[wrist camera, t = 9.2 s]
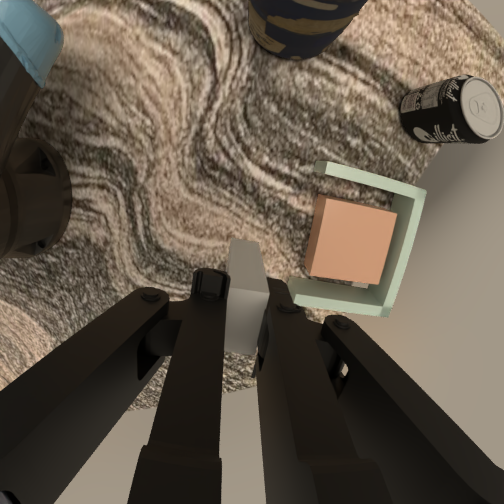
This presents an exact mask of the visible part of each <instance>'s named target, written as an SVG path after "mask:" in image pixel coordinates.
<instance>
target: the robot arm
mask: <svg viewBox="0 0 504 504" xmlns="http://www.w3.org/2000/svg"><path fill="white" fill-rule="evenodd" d="M63 44H64V34H63V31H62V29H61V27H60V25H59V24H58V23H57V22H56V20H55V19H54V18H53V17H51V16H50V15H49V14H48V13H47V12H46V11H45V10H44V9H43V8H41V7H40V6H39V5H38V4H36V3H35V2H34V1H33V0H0V259H1V258H30V257H34V256H37V255H39V254H41V253H43V252H44V251H46V250H48V249H50V248H51V247H52V246H54V245H55V244H56V243H57V242H58V240H59V239H60V238H61V236H62V235H63V233H64V231H65V229H66V227H67V224H68V221H69V217H70V212H71V204H72V192H71V183H70V178H69V174H68V171H67V168H66V166H65V164H64V162H63V160H62V158H61V156H60V155H59V154H58V152H57V151H56V150H55V149H54V148H53V147H52V146H51V145H50V144H48V143H47V142H45V141H43V140H40V139H37V138H18V139H16V138H17V136H18V133H19V131H20V129H21V127H22V124H23V122H24V120H25V118H26V116H27V114H28V112H29V110H30V108H31V106H32V104H33V102H34V100H35V98H36V96H37V94H38V92H39V90H40V88H43V87H44V86H45V79H46V77H47V75H48V73H49V72H50V70H51V68H52V66H53V64H54V62H55V61H56V59H57V57H58V55H59V54H60V52H61V50H62V47H63ZM169 299H170V298H169V295H168V294H167V293H166V292H165V291H163V290H160V289H157V288H154V287H145V288H139V289H137V290H134V291H133V292H132V293H130V294H129V295H127V296H126V297H125V298H123V299H122V300H120V301H119V302H118V303H116V304H115V305H114V306H112V307H111V308H109V309H108V310H107V311H105V312H104V313H102V314H101V315H100V316H98V317H97V318H96V319H94V320H93V321H92V322H90V323H89V324H87V325H86V326H85V327H83V328H82V329H81V330H79V331H78V332H77V333H75V334H74V335H73V336H71V337H70V338H69V339H67V340H66V341H65V342H63V343H62V344H61V345H59V346H58V347H57V348H55V349H54V350H53V351H51V352H50V353H49V354H48V355H46V356H45V357H44V358H42V359H41V360H40V361H38V362H37V363H36V364H35V365H33V366H32V367H31V368H29V369H28V370H27V371H26V372H24V373H23V374H22V375H20V376H19V377H18V378H17V379H15V380H14V381H13V382H12V383H10V384H9V385H8V386H6V387H5V388H4V389H3V390H1V391H0V504H54V502H55V501H56V500H57V499H58V497H59V496H60V495H61V493H62V492H63V491H64V490H65V488H66V487H67V486H68V484H69V483H70V482H71V481H72V479H73V478H74V477H75V475H76V474H77V473H78V472H79V470H80V469H81V468H82V466H83V465H84V464H85V463H86V461H87V460H88V459H89V457H90V456H91V455H92V454H93V452H94V451H95V450H96V448H97V447H98V446H99V445H100V443H101V442H102V441H103V439H104V438H105V437H106V436H107V434H108V433H109V432H110V431H111V429H112V428H113V427H114V425H115V424H116V423H117V422H118V420H119V419H120V418H121V416H122V415H123V414H124V413H125V411H126V410H127V409H128V407H129V406H130V405H131V404H132V402H133V401H134V400H135V398H136V397H137V396H138V395H139V393H140V392H141V391H142V389H143V388H144V387H145V386H146V384H147V383H148V382H149V380H150V379H151V378H152V377H153V375H154V374H155V373H156V372H157V370H158V369H159V368H160V366H161V365H162V364H163V363H164V360H165V356H172V357H171V360H170V364H169V367H168V371H167V374H166V378H165V382H164V385H163V389H162V392H161V396H160V400H159V403H158V407H157V411H156V415H155V418H154V422H153V426H152V430H151V434H150V438H149V441H148V444H147V446H146V445H143V447H142V449H141V452H140V455H139V458H138V462H137V466H136V470H135V474H134V477H133V482H132V486H131V490H130V494H129V498H128V503H127V504H221V483H222V461H221V458H219V441H220V419H221V398H222V378H223V360H224V351H226V352H232V353H240V354H247V355H255V353H256V348H257V346H258V354H257V358H256V362H255V366H254V370H253V374H252V377H251V378H254V377H255V375H256V379H257V392H258V405H259V418H260V430H261V443H262V456H263V467H264V481H265V493H266V504H504V470H503V469H501V468H499V467H498V466H496V465H495V464H494V463H493V462H492V461H491V460H490V459H489V458H488V457H487V456H486V455H485V454H484V453H483V451H482V450H481V449H480V448H479V447H478V446H477V445H476V444H475V443H474V442H473V441H472V440H471V439H470V438H469V437H468V436H467V435H466V434H465V433H464V431H463V430H462V429H461V428H460V427H459V426H458V425H457V424H456V423H455V422H454V421H453V420H452V419H451V418H450V417H449V416H448V415H447V414H446V413H445V412H444V411H443V410H442V409H441V408H440V407H439V406H438V405H437V404H436V403H435V402H434V401H433V400H432V399H431V398H430V397H429V396H428V395H427V394H426V392H424V391H423V390H422V388H421V387H419V385H418V384H417V383H416V382H415V381H414V380H413V379H412V378H410V376H409V375H408V374H407V373H406V372H405V371H403V369H402V368H401V367H400V366H399V365H398V364H397V363H396V362H395V361H394V360H393V359H392V358H391V357H390V356H388V354H387V353H386V352H385V351H384V350H383V349H381V347H379V345H378V344H377V343H376V342H374V341H373V340H372V339H371V338H370V337H369V336H368V335H367V334H366V333H365V332H364V331H363V330H362V329H361V328H360V327H359V326H358V325H357V324H356V323H355V322H354V321H352V320H351V319H348V318H347V317H345V316H342V315H328V316H327V317H325V320H324V323H323V324H321V323H317V322H314V321H311V320H308V319H307V317H306V314H305V312H304V310H303V309H302V307H300V306H299V305H297V304H295V303H293V300H292V297H291V295H290V292H289V289H288V286H287V284H286V283H284V282H283V281H282V280H279V279H273V278H267V277H266V274H265V269H264V265H263V260H262V255H261V251H260V246H259V242H254V241H248V240H243V239H237V238H231V243H230V249H229V255H228V260H227V266H226V272H225V271H221V270H217V269H211V268H201V269H197V270H195V271H194V273H193V280H192V288H191V295H190V298H189V299H187V300H184V301H169ZM344 364H346V365H347V367H348V372H347V374H346V376H344V375H343V374H342V372H341V371H342V369H343V367H344Z"/></svg>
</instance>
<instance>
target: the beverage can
mask: <svg viewBox="0 0 504 504" xmlns="http://www.w3.org/2000/svg"><path fill="white" fill-rule="evenodd" d="M400 112H401V119H402V122H403V125H404V127H405V129H406V130H407V132H408V133H409V134H410V135H411V136H412V137H413V138H414V139H416V140H417V141H419V142H422V143H474V144H476V143H477V144H480V143H484V142H487V141H488V140H490V139H493V138H495V137H497V135H499V134H500V132H501V130H502V127H503V124H504V109H503V105H502V101H501V99H500V96H499V94H498V92H497V91H496V89H495V88H494V87H493V86H492V84H491V83H489V82H488V81H487V80H485V79H484V78H481V77H474V76H471V75H460V76H457V77H453V78H450V79H446V80H443V81H440V82H436V83H433V84H430V85H427V86H424V87H421V88H418V89H415V90H412V91H410V92H408V93H407V94H406V95H405V97H404V98H403V100H402V103H401V109H400Z"/></svg>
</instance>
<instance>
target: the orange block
mask: <svg viewBox="0 0 504 504" xmlns="http://www.w3.org/2000/svg"><path fill="white" fill-rule="evenodd" d="M396 217H397V213H394V212H392V211H390V210H387V209H385V208H382V207H377V206H373V205H369V204H364V203H360V202H355V201H350V200H346V199H341V198H336V197H331V196H326V195H321V194H318V198H317V203H316V208H315V213H314V218H313V222H312V227H311V232H310V237H309V241H308V246H307V251H306V255H305V260H304V265H305V267H306V269H307V271H308V273H309V274H310V275H311V276H318V277H325V278H333V279H340V280H347V281H354V282H362V283H369V284H377V285H378V284H379V281H380V277H381V274H382V271H383V267H384V264H385V260H386V256H387V253H388V249H389V245H390V241H391V237H392V233H393V229H394V225H395V221H396Z"/></svg>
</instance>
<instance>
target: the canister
mask: <svg viewBox="0 0 504 504" xmlns="http://www.w3.org/2000/svg"><path fill="white" fill-rule="evenodd" d="M367 1H368V0H249V2H248V9H249V13H248V21H249V28H250V31H251V33H252V35H253V37H254V38H255V40H256V41H257V42H258V43H259V44H260V45H261V46H262V47H263V48H264V49H265V50H267V51H269V52H270V53H272V54H274V55H277V56H280V57H283V58H288V59H307V58H311V57H314V56H316V55H318V54H320V53H322V52H324V51H325V50H326V49H327V48H328V47H329V46H330V45H331V44H332V43H333V41H334V40H335V39H336V38H337V37H338V36H339V35H340V34H341V33H342V32H343V31H344V29H345V28H346V27H347V26H348V25H349V24H350V22H351V21H352V19H353V18H354V17H355V16H357V15H359V11H360V9H361V8H362V7H363V5H364V4H365V3H366V2H367Z"/></svg>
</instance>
